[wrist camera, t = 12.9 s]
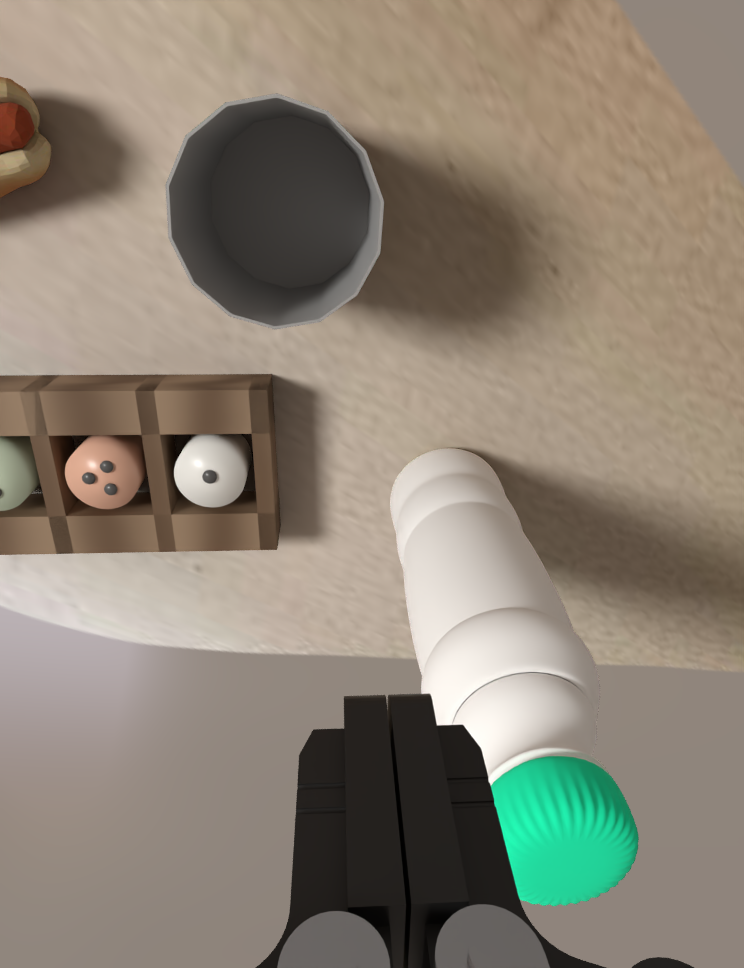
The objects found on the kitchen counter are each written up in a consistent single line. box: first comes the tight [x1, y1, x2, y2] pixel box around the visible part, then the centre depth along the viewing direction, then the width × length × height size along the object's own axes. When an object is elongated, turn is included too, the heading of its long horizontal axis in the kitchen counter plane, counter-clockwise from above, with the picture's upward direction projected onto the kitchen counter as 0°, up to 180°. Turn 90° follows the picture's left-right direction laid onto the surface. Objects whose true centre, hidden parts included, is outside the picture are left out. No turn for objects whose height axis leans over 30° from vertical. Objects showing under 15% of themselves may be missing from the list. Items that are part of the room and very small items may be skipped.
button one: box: [174, 434, 252, 507], centre depth 39 cm, size 4×4×3 cm
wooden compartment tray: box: [0, 374, 281, 555], centre depth 39 cm, size 19×10×3 cm, turn 89°
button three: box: [65, 435, 147, 509], centre depth 38 cm, size 4×4×3 cm
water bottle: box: [390, 448, 638, 906], centre depth 31 cm, size 7×7×25 cm
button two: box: [0, 436, 40, 511], centre depth 38 cm, size 4×4×3 cm
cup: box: [166, 94, 384, 329], centre depth 30 cm, size 8×8×10 cm
